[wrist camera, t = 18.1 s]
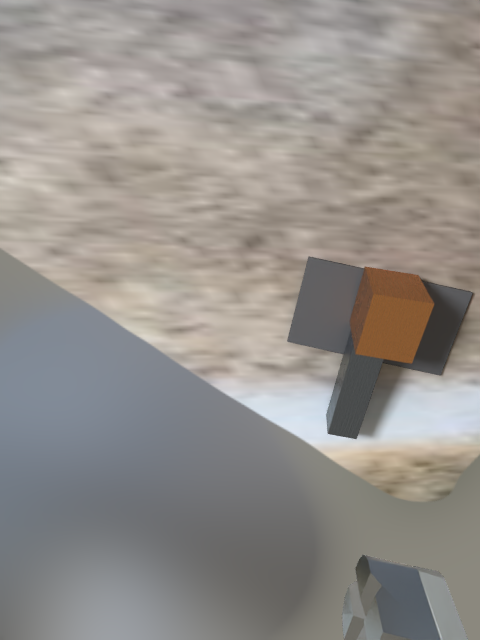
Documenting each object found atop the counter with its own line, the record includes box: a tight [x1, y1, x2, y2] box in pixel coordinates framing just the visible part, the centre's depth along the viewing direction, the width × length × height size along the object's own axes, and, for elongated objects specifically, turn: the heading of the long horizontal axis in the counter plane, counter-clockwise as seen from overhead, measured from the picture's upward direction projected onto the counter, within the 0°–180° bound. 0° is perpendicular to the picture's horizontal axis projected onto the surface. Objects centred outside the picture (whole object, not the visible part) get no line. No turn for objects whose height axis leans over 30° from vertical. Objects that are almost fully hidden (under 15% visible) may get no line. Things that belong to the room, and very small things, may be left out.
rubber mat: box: [287, 257, 472, 375], centre depth 45 cm, size 9×16×1 cm, turn 79°
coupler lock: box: [326, 267, 434, 439], centre depth 44 cm, size 6×17×5 cm
